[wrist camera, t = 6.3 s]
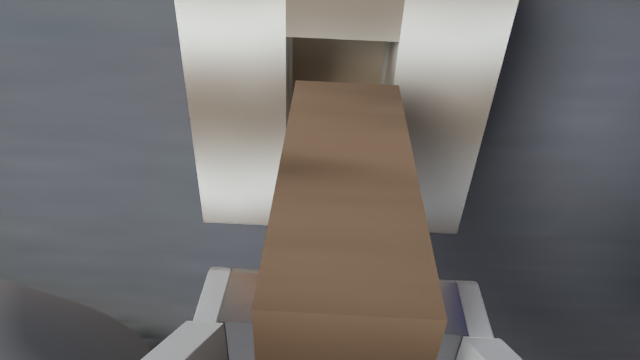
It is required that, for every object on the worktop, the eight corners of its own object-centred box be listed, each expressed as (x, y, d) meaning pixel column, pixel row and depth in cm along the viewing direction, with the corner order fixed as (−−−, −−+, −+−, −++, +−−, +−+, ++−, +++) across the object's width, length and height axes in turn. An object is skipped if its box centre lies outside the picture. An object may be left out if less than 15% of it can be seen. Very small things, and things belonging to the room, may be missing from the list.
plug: (381, 215, 18) (405, 472, 11) (294, 210, 18) (262, 463, 11) (398, 85, 15) (447, 320, 8) (295, 80, 15) (251, 310, 8)
